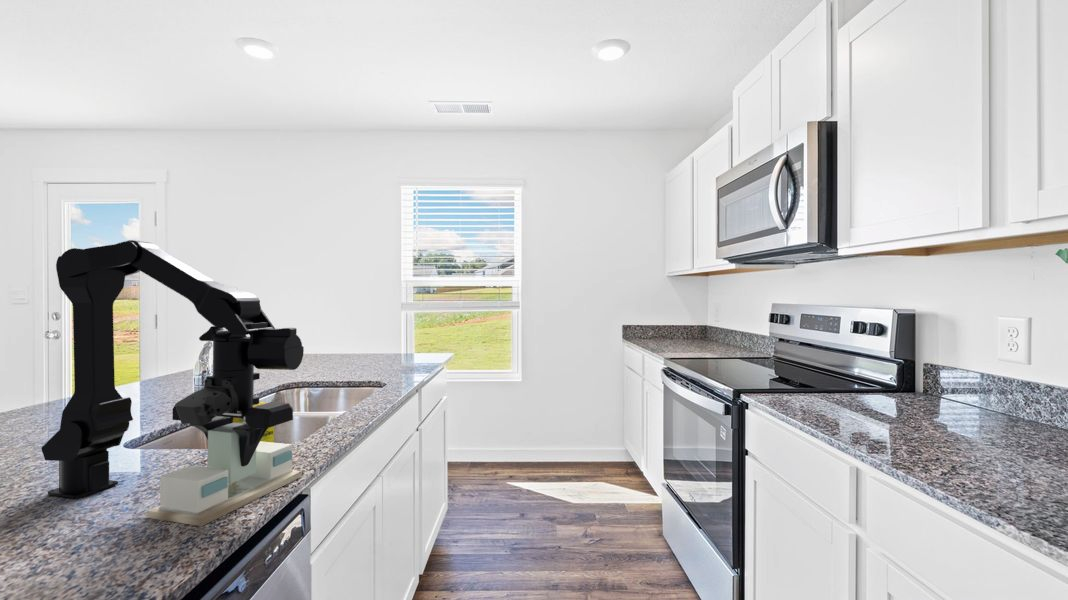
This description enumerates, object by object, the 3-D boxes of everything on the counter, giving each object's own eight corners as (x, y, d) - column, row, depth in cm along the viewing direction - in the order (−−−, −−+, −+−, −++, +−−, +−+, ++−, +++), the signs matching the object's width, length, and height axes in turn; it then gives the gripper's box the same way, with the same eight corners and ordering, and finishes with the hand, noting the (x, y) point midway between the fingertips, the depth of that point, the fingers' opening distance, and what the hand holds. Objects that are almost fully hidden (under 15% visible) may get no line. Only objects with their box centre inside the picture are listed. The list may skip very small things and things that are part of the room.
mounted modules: (160, 507, 72) (160, 476, 72) (259, 465, 90) (259, 441, 90) (200, 513, 70) (200, 481, 70) (293, 469, 88) (294, 444, 88)
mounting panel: (146, 517, 72) (146, 510, 72) (255, 471, 91) (255, 465, 91) (201, 526, 69) (201, 519, 69) (301, 476, 88) (301, 471, 88)
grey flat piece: (158, 510, 72) (158, 507, 72) (260, 467, 90) (260, 465, 90) (196, 516, 70) (196, 513, 70) (292, 471, 88) (292, 468, 88)
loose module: (207, 480, 78) (208, 428, 78) (233, 470, 83) (234, 421, 83) (230, 483, 77) (231, 430, 77) (255, 472, 82) (256, 423, 82)
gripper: (138, 372, 74) (137, 475, 74) (239, 379, 70) (238, 488, 70) (204, 363, 85) (203, 453, 85) (295, 368, 81) (294, 463, 81)
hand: (232, 464), depth 80 cm, fingers closed on loose module, 4 cm apart
